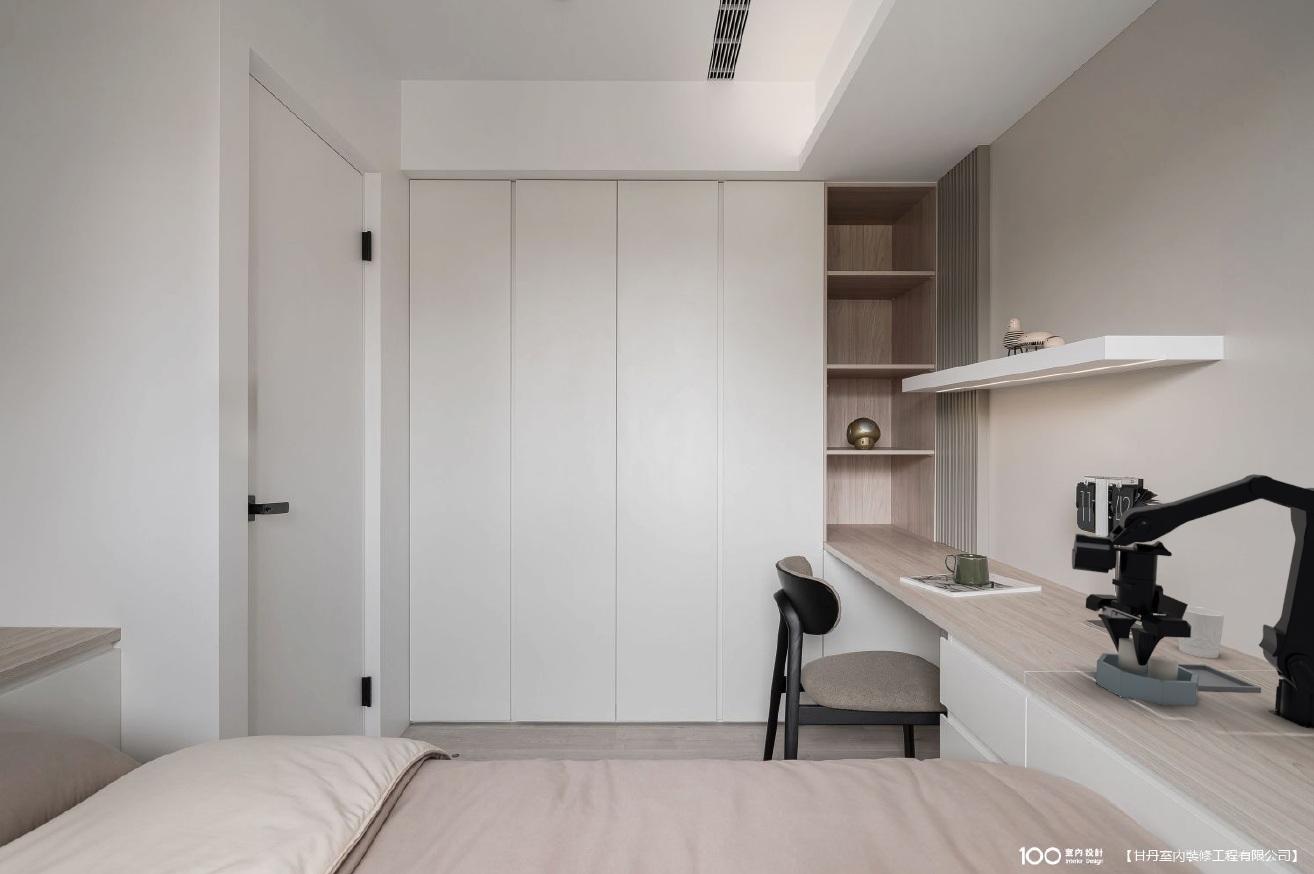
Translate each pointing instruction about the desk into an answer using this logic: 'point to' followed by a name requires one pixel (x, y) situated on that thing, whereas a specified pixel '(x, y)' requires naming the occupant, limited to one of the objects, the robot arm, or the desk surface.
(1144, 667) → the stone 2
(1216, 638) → the white cup
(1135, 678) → the bowl
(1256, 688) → the parts tray
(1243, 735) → the desk surface
